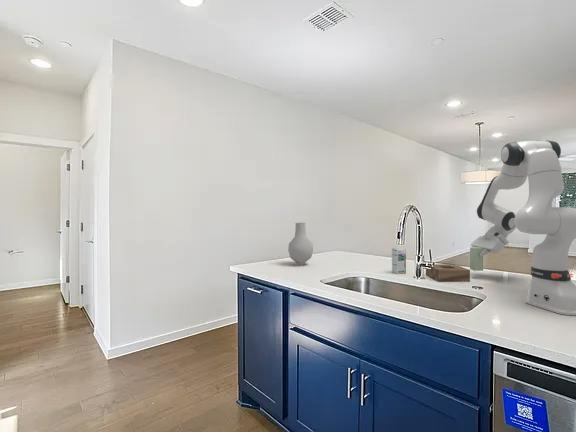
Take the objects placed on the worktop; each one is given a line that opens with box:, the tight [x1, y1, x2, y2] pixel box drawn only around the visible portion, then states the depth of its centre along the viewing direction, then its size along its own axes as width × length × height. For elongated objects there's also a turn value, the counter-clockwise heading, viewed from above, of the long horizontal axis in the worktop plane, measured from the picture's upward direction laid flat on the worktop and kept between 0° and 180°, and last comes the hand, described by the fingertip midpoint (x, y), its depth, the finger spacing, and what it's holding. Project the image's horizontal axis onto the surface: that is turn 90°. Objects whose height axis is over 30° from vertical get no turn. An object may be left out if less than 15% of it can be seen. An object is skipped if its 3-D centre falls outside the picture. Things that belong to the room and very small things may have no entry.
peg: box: [469, 246, 484, 272], centre depth 178 cm, size 4×4×12 cm
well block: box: [425, 263, 471, 283], centre depth 178 cm, size 16×16×6 cm
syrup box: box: [391, 247, 407, 275], centre depth 193 cm, size 6×6×14 cm
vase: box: [288, 222, 314, 266], centre depth 220 cm, size 17×16×28 cm
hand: (476, 255), depth 178 cm, fingers closed on peg, 4 cm apart
